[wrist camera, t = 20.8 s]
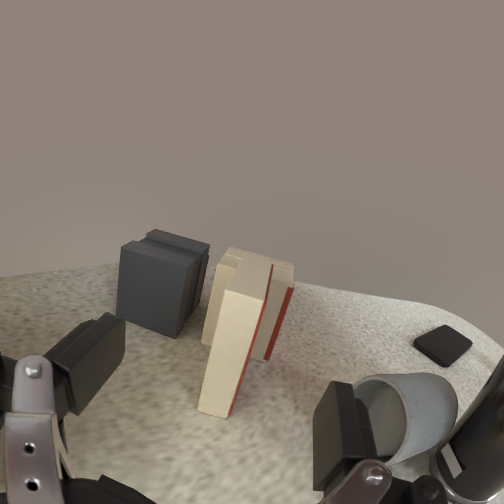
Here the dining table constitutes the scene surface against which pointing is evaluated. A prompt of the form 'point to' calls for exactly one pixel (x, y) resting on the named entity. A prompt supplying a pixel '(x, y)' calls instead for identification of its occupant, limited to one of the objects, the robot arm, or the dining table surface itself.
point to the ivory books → (274, 308)
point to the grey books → (161, 281)
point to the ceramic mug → (407, 412)
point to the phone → (443, 345)
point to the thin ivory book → (235, 334)
